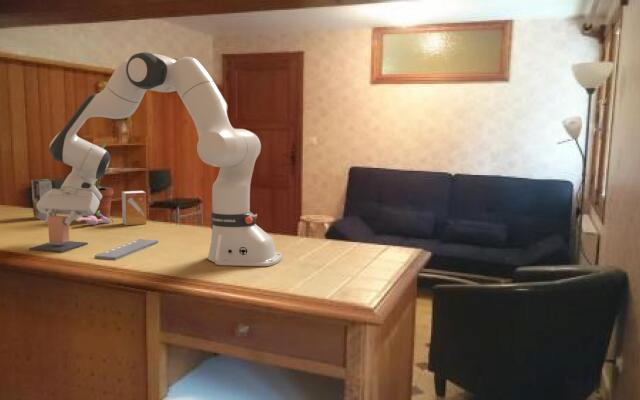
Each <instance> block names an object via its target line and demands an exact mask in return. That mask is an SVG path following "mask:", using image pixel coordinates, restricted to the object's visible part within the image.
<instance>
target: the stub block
mask: <svg viewBox="0 0 640 400" xmlns="http://www.w3.org/2000/svg"><path fill="white" fill-rule="evenodd" d="M67 217H68V215H67V216H66V215H56V216H51V217H48V224H47V226H48V227H47V228H48V229H47V230H48V243H49V242H59V243H64V242H67V241H70V229H69V226H70V225H64V224H63V221H64V218H67Z"/></svg>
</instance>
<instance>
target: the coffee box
mask: <svg viewBox="0 0 640 400" xmlns="http://www.w3.org/2000/svg"><path fill="white" fill-rule="evenodd" d="M30 181H31V195H32V196H31V197H32V209H33V218H34V219H38V220H39V221H40V220H41V221H45V220H46V218H47V213H41V212H40V211H39V210H38V209H37V207H36V204H37V203H38V201H39V200H40V199H41V197H42V196H43V195H44V194H45V193H46V192H47V191H49V190H52V189H56V184H55V180H54V179H53V180H52V179H50V178H49V179H48V178H42V179H41V178H40V179H31V180H30ZM54 216H57V214H55V215H54Z"/></svg>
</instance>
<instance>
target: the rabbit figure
mask: <svg viewBox="0 0 640 400" xmlns="http://www.w3.org/2000/svg"><path fill="white" fill-rule="evenodd" d="M99 212H100V211H97V212H96V215H97V216H101V218H100V219H98V220H97V218H96V217H95V216H88V217H86V218H83V216H82V217H77V218H76V219H75V221H76V222H81V221H85V222H86V224H88V225H91V226H96V225H98V224H106V225H107V224H110V223H112V224H113V223H114V218H111V217H110V219H108V218H107V217H104V216H103V215H102V214H100V213H99Z"/></svg>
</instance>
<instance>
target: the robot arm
mask: <svg viewBox="0 0 640 400" xmlns="http://www.w3.org/2000/svg"><path fill="white" fill-rule="evenodd" d="M148 90H149V91H153V92H158V93H173V94H174V93H177V94H178V95H179V97H180V99H181V101H182V103H183V105H184V106H185V108H186V110H187V112H188V114H189V116H190V117H191V119H192V121H193V123H194V126H195V128H196V132H197V136H198V141H197V146H196V150H197V155H198V157H199V158H200V160H201V161H202V162H203V163H204V164H206V165H208V166H211V167H217V168H219V171H218V175H217V178H216V180H215V181H214V183H213V184H212V188H211V189H212V191H211V192H212V193H211V195H212V198H211V199H212V200H211V201H212V211H211V212H210V213H211V214H210V227H211V228H210V229H211V239H210V240H211V241H210V245H209V246H210V247H209V251H208V254H207V260H209V261H210V262H213V263H214V264H216V265H217V266H235V267H236V266H239V267H241V266H243V267H245V266H246V267H247V266H248V267H270V266H273V265H277V263H279V262H280V261H282V259H283V254H282V252H279V251H276V246H275V241H274V238H273V237H272V236H271V235H270V234H268V232H266V231H265V230H264V229H262V228H261V227H260V226H258V225H257V224H256V223H257V220H256V219H257V218H258V213H255V214H254V213H253V212H252V211H251V210H250V209H251V203H250V201H251V200H250V199H251V198H250V197H251V194H250V193H251V182H252V176H253V173H254V168H255V163H256V160H257V159H258V157H259V156H260V153H261V151H262V150H261V149H262V143H261V141H260V138H259V137H258V136H257V134H256V133H254V132H252V131H250V130H247V129H244V128H234V127H233V126H232V124H231V122H230V120H229V117H228V116H229V115H228V104H227V102H226V99H225V98H224V97H223V95H222V93H221V91H220V90H219V88H218V87H217V85H216V83H215V81H214V79H213V78H212V77H211V75H210V73H209V71H207V70H206V68H205V67H204V66H203V64H201V62H200V61H199V60H198V59H197V58H194V57H193V56H184V57H181V58H178V59H177V58H172V57H169V56H167V55H164V54H158V53H150V52H138V53H135V54H133V55H131V57H130V58H127V59H124V60H122V61H121V62H120V64H118V66H116V69H115V70H114V71H113V73H112V75H111V76H110V77H109V79H108V82H107V84H106V86H105V87H104V89H102V90H101V91H100V92H99V93H98V92H97V93H91V94H90V95H88V96H87V97H86V98H85V100H83V102H82V103H81V104H80V106H79V107H78V108H77V110H76V111H75V112H74V113H73V115H72V116H71V118H70V119H69V120H68V121H67V123H66V124H65V126H64V127H63V128H62V130H61V131H59V132H58V133H57V134H56V135H55V136H54V137H53V139H52V140H51V141H50V144H49V147H48V152H49V153H50V156H51V158H52V159H53V160H54V161H57V162H60V163H61V164H65V165H68V166H70V167H72V168H71V172H70V173H69V174H68V175H67V176H66V178H65V180H64V182H63V183H62V184H61V186H60V188H55V189H52V190H49V191H47V192H46V193H45V194H44V195H43V196H42V197H41V199H40V200H39V201H38V203H37V204H36V207H37V209H38V210H39V211H40V212H41V213H47V218H46V219H45V220H44V221H45V223H46V224H47V225H48V217H51V216H54V215H55V214H56V215H64V216H66V215H67V218H64V221H63V224H64V225H68V226H70V224H72V222H73V221H75V220H77V219H78V218H79V217H78V216H82V217H83V216H92V215H93V214H95V212H96V211H97V209H98V206H99V204H100V201H99V200H101V199H102V195H101V193H100V192H99V190H98V189H97V188H96V187H95V186H94V183H95V182H96V181H97V180H100V178H101V179H102V178H103V177H105V174H106V172H107V170H108V169H109V167H110V166H111V162H112V159H111V156H110V152H109V151H108V150H107V149H105V148H104V149H103V148H101V146H99V145H97V144H94V143H92V142H89V141H88V140H86V139H84V138H81V137H79V136H78V135H77V133H78V131H80V129H81V128H82V126H83V125H84V124H85V122H86V121H87V120H88V119H90V118H95V117H98V118H107V119H113V120H118V119H119V120H121V119H127V118H129V117H131V116H132V115H133V114H134V113H135V112H136V110H137V109H138V108H139V106H140V104H141V102H142V100H143V98H144V96H145V93H146V92H147V91H148Z"/></svg>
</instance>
